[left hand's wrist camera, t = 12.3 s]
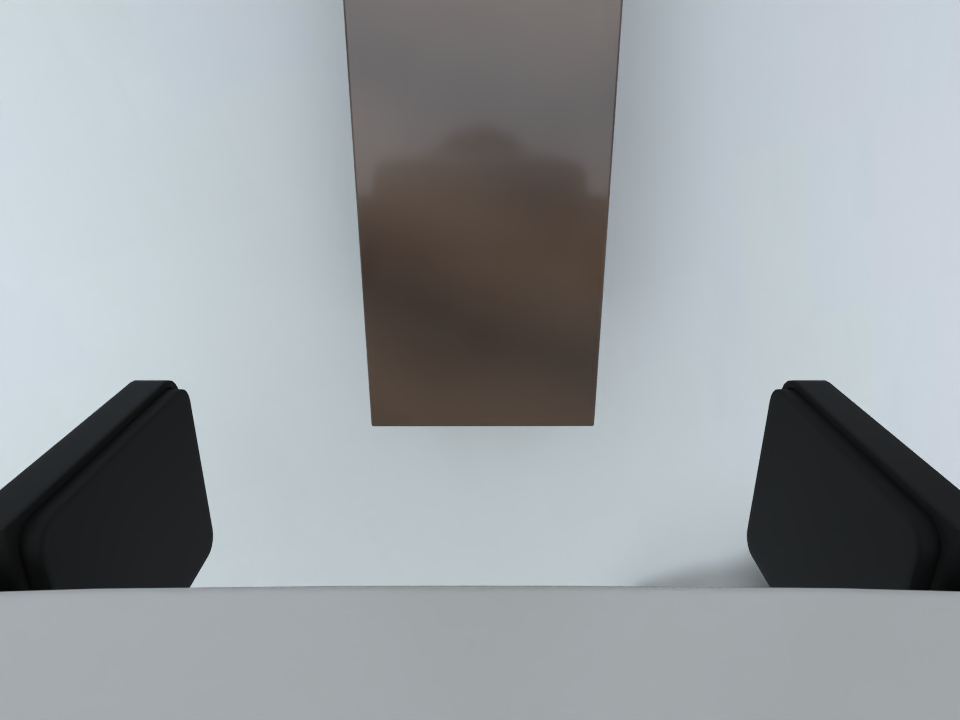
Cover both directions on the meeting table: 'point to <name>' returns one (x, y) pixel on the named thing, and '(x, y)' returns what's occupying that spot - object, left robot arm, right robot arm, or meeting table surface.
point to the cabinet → (482, 204)
